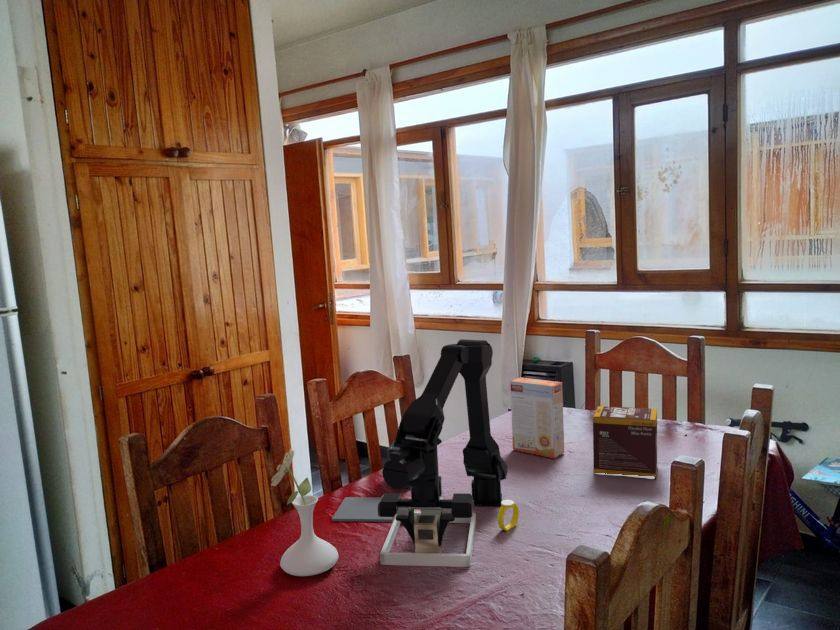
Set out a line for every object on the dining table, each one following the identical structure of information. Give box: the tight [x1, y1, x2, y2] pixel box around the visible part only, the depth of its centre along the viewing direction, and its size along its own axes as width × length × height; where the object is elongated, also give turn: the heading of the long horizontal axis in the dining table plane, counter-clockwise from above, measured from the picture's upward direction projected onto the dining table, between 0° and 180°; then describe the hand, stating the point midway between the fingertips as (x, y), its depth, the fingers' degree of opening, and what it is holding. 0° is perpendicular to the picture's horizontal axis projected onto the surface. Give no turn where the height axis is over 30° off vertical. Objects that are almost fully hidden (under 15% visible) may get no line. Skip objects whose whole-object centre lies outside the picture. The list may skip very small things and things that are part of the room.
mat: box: [331, 496, 396, 523], centre depth 153 cm, size 14×12×1 cm
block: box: [420, 496, 445, 519], centre depth 139 cm, size 4×4×7 cm
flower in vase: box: [270, 448, 339, 577], centre depth 125 cm, size 13×11×25 cm
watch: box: [497, 499, 520, 532], centre depth 139 cm, size 6×3×6 cm, turn 137°
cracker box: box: [510, 376, 565, 459], centre depth 184 cm, size 14×6×21 cm, turn 47°
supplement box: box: [592, 405, 658, 478], centre depth 168 cm, size 10×15×16 cm
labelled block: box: [414, 515, 442, 554], centre depth 130 cm, size 4×5×7 cm
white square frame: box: [379, 510, 477, 568], centre depth 135 cm, size 18×20×2 cm
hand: (428, 545), depth 131 cm, fingers closed on labelled block, 4 cm apart
